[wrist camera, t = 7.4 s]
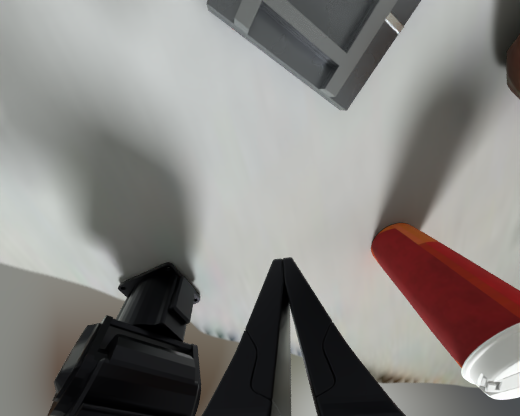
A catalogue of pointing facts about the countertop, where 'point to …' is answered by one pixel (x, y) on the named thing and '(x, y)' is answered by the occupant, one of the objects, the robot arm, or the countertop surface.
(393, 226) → the paper cup
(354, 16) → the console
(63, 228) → the countertop surface
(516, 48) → the butternut squash
